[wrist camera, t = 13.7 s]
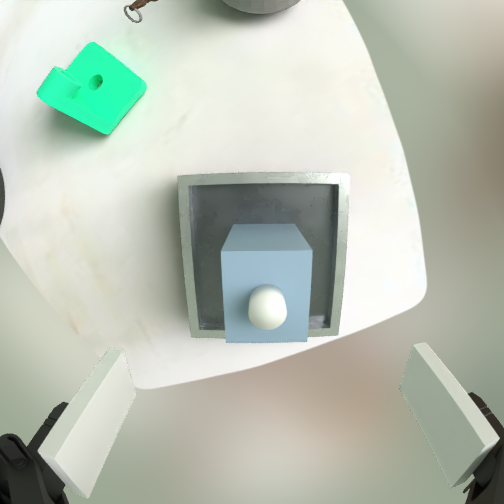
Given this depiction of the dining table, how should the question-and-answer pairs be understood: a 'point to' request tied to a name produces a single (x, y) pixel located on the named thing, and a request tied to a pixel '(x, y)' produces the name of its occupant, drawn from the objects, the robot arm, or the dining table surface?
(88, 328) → the dining table surface
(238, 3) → the coffee pot
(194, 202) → the open square box
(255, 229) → the blue bottle
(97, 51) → the camera mount
